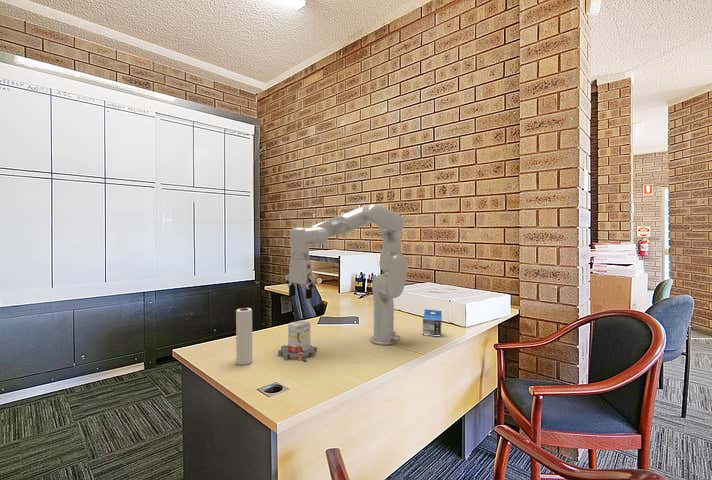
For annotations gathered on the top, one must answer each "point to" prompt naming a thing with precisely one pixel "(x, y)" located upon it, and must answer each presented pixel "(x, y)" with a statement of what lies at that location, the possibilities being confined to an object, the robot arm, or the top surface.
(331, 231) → the robot arm
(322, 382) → the top surface
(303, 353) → the sprocket
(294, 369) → the top surface
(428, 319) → the label tape cartridge
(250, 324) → the paper towel roll
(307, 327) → the ink box
